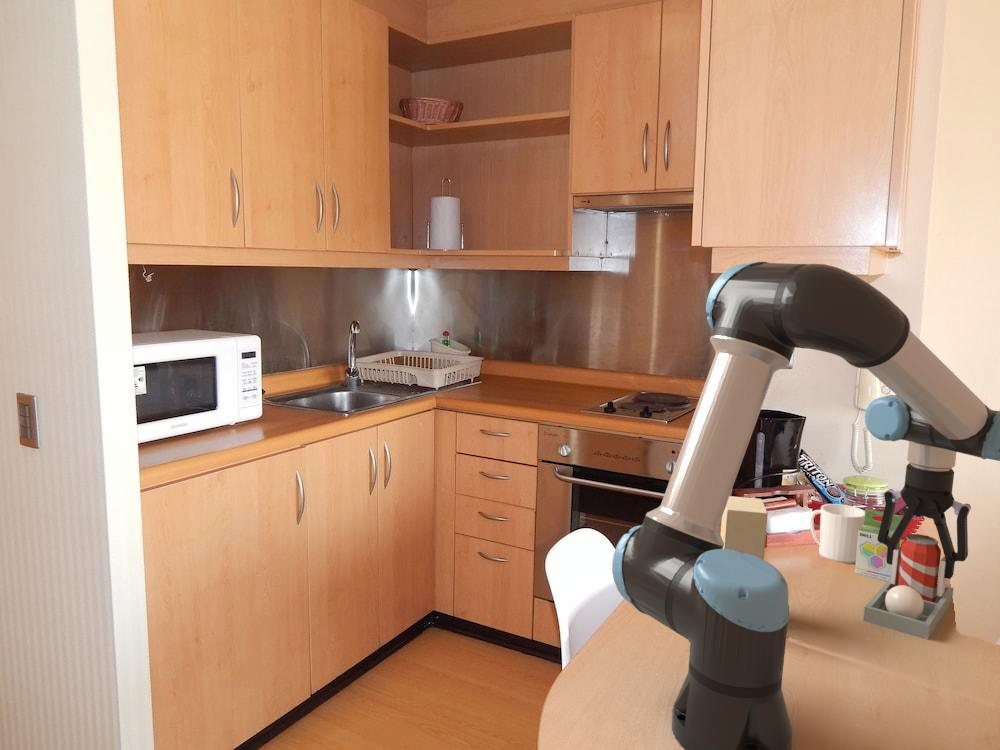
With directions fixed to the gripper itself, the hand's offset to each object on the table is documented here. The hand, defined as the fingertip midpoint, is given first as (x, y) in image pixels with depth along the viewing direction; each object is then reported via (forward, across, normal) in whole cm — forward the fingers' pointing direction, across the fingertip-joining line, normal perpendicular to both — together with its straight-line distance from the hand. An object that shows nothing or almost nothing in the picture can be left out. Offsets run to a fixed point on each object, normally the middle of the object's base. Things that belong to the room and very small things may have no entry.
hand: (916, 587), depth 143 cm
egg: (+3, 0, +10) cm, 10 cm away
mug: (+4, +19, -15) cm, 25 cm away
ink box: (+4, +9, -8) cm, 13 cm away
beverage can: (+3, 0, 0) cm, 3 cm away
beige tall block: (+4, +22, +28) cm, 36 cm away
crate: (+4, 0, +5) cm, 6 cm away
